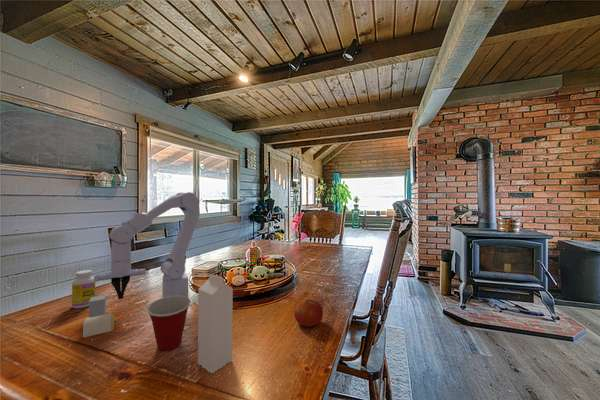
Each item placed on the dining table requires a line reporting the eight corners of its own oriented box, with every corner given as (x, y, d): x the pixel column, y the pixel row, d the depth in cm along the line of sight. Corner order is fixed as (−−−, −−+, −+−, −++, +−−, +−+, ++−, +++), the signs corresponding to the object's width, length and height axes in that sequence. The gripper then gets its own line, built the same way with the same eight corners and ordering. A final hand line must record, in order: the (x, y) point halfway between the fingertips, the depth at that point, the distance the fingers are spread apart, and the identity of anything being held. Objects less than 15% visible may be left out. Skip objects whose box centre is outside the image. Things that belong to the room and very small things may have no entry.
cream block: (114, 312, 78) (85, 318, 74) (112, 317, 75) (83, 324, 71) (114, 325, 78) (85, 331, 74) (112, 330, 75) (82, 337, 71)
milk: (218, 352, 65) (219, 270, 65) (232, 361, 61) (233, 274, 61) (197, 364, 60) (198, 276, 60) (211, 375, 57) (212, 281, 57)
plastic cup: (142, 363, 60) (142, 315, 60) (150, 339, 70) (150, 298, 70) (190, 352, 65) (190, 307, 65) (190, 331, 75) (191, 293, 75)
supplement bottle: (81, 309, 88) (81, 275, 88) (67, 308, 90) (67, 273, 90) (99, 302, 95) (99, 269, 95) (86, 300, 96) (86, 268, 96)
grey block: (106, 314, 85) (106, 294, 85) (104, 319, 82) (104, 299, 82) (91, 317, 83) (91, 297, 83) (89, 322, 80) (89, 301, 79)
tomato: (290, 327, 78) (290, 302, 78) (300, 314, 86) (300, 292, 86) (317, 333, 74) (317, 307, 74) (325, 319, 83) (325, 296, 83)
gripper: (92, 265, 78) (92, 307, 78) (145, 259, 86) (145, 297, 86) (95, 260, 84) (95, 299, 84) (145, 255, 92) (145, 291, 92)
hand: (120, 298), depth 86 cm, fingers closed
